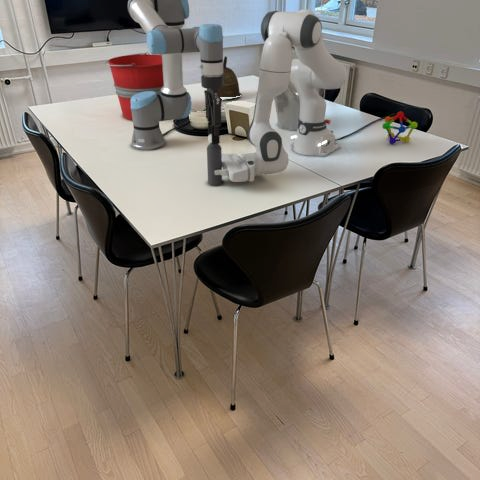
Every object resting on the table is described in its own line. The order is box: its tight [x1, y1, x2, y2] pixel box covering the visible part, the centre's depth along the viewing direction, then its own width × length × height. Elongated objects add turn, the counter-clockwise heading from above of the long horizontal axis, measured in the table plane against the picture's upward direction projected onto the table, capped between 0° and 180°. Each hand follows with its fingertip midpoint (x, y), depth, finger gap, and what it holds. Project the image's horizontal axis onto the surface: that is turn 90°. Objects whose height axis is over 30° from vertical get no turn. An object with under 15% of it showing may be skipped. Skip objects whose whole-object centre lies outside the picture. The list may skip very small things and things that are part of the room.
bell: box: [218, 56, 242, 97], centre depth 278 cm, size 19×26×20 cm
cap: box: [207, 134, 212, 144], centre depth 162 cm, size 4×4×2 cm
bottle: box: [206, 142, 223, 187], centre depth 166 cm, size 5×5×19 cm
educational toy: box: [382, 110, 418, 145], centre depth 207 cm, size 16×13×15 cm
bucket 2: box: [273, 81, 326, 131], centre depth 226 cm, size 30×30×28 cm
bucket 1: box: [104, 51, 164, 121], centre depth 240 cm, size 35×35×30 cm
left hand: (213, 141), depth 162 cm, fingers closed on cap, 4 cm apart
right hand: (212, 168), depth 168 cm, fingers closed on bottle, 5 cm apart
